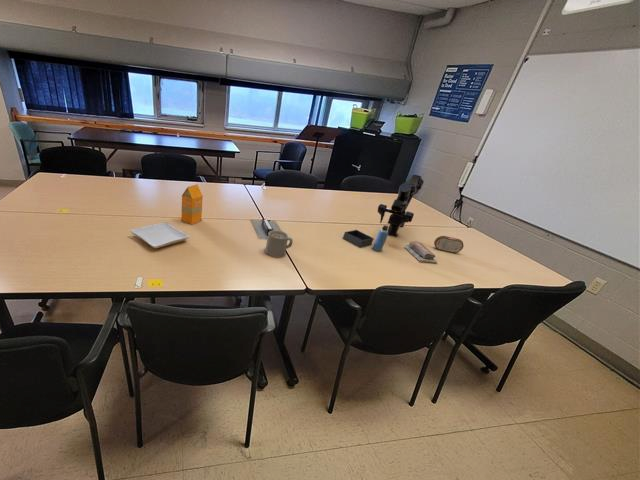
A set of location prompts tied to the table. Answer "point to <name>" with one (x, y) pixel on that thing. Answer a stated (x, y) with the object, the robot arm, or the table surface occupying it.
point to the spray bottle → (381, 239)
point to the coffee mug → (277, 243)
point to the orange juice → (192, 204)
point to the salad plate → (160, 234)
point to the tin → (448, 244)
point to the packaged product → (420, 252)
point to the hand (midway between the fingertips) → (388, 225)
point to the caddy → (358, 238)
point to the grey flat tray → (264, 227)
